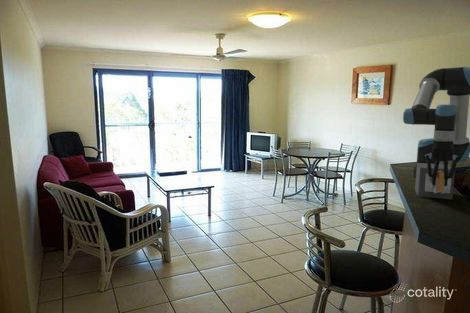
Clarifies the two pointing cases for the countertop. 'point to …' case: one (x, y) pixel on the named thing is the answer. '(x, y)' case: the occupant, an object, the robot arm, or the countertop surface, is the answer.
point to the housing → (420, 182)
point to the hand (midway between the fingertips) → (438, 192)
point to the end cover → (440, 176)
